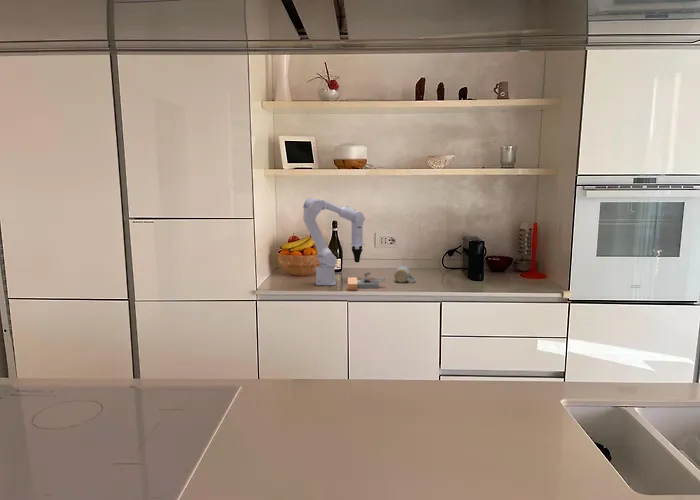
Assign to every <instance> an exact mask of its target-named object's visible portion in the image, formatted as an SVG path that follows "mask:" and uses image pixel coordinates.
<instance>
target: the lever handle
mask: <svg viewBox="0 0 700 500" xmlns="http://www.w3.org/2000/svg"><path fill="white" fill-rule="evenodd" d="M363 277H364V279H363V280H364V281H365V282H369V281H375V282H378V283H385V282H386V281H385V280H386V279H385V277H378V276H377V277H376V276H371V272H370V271H367V272H364V273H363Z"/></svg>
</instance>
